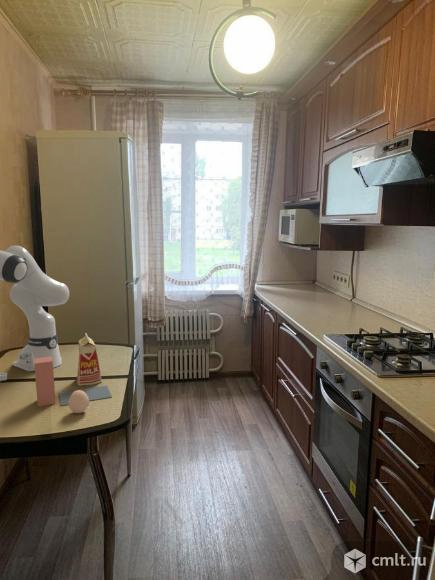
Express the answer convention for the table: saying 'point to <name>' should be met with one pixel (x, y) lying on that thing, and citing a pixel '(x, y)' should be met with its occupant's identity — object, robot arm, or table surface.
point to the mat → (92, 394)
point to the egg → (78, 401)
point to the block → (44, 381)
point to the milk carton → (88, 363)
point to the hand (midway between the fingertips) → (7, 376)
